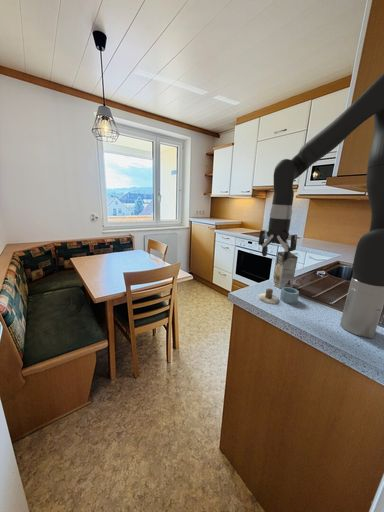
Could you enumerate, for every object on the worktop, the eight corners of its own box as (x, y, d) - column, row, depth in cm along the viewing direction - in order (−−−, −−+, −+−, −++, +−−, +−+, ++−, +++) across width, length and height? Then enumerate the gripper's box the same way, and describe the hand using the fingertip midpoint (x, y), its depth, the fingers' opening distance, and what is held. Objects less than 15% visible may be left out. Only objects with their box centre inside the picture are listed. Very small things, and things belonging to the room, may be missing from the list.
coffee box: (272, 281, 110) (277, 251, 105) (285, 281, 110) (290, 251, 105) (279, 288, 101) (284, 256, 96) (292, 289, 101) (298, 256, 96)
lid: (281, 300, 90) (283, 290, 88) (272, 306, 84) (274, 295, 83) (264, 293, 95) (265, 284, 94) (254, 298, 90) (256, 289, 89)
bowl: (299, 300, 89) (301, 291, 88) (293, 305, 85) (295, 295, 84) (284, 295, 94) (285, 285, 93) (277, 299, 90) (278, 289, 88)
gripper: (303, 218, 78) (296, 260, 82) (267, 215, 88) (262, 253, 92) (295, 219, 73) (288, 264, 77) (258, 215, 83) (253, 255, 87)
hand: (274, 258), depth 85 cm, fingers open, 8 cm apart
